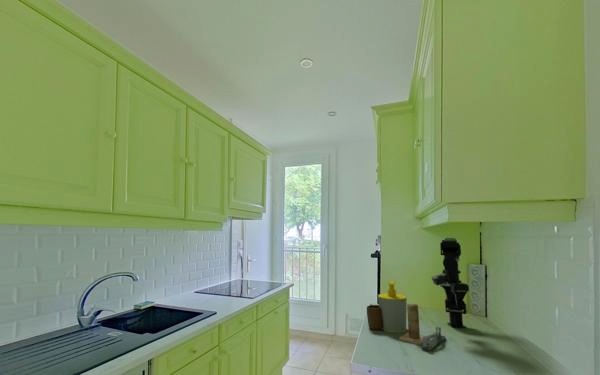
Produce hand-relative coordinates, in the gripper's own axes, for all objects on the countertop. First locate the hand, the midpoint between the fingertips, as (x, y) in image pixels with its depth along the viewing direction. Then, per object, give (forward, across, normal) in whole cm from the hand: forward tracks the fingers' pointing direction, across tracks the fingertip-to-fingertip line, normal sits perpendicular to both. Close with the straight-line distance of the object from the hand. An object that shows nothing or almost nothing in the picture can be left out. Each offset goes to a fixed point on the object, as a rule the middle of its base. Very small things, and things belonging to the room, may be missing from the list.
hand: (454, 304), depth 136 cm
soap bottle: (+13, -8, -25) cm, 29 cm away
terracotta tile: (+13, +7, -20) cm, 25 cm away
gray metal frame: (+13, +12, -14) cm, 22 cm away
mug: (+13, -10, -33) cm, 37 cm away
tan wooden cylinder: (+12, +7, -20) cm, 24 cm away
